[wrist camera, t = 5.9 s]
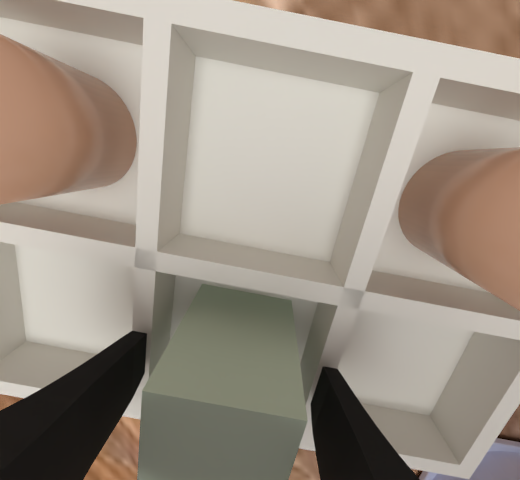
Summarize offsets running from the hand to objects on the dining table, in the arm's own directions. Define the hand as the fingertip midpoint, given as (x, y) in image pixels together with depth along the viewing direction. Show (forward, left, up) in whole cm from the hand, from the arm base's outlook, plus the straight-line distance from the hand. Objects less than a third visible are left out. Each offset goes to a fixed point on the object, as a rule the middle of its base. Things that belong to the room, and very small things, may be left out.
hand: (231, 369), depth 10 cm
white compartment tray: (0, -4, -3) cm, 5 cm away
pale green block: (0, 0, -3) cm, 3 cm away
